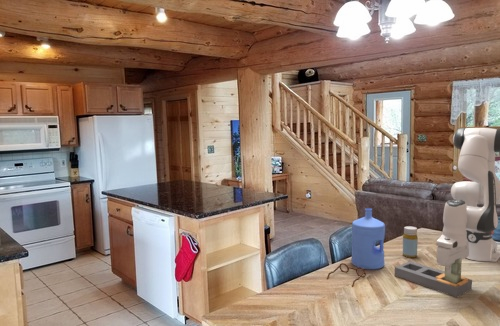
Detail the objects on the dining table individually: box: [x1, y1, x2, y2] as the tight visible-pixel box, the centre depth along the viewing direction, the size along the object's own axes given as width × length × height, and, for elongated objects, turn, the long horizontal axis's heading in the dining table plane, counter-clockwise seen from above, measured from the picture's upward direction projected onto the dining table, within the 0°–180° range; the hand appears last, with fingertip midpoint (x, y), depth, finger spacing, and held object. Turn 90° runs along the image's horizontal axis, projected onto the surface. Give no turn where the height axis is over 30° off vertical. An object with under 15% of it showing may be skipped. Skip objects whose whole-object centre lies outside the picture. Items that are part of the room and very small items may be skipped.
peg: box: [444, 258, 463, 284], centre depth 161 cm, size 4×4×12 cm
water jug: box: [351, 207, 386, 270], centre depth 190 cm, size 16×16×28 cm
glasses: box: [326, 262, 367, 288], centre depth 174 cm, size 13×13×5 cm
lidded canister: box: [402, 225, 419, 258], centre depth 202 cm, size 7×7×15 cm
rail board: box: [394, 260, 473, 298], centre depth 169 cm, size 12×28×4 cm, turn 36°
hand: (452, 271), depth 161 cm, fingers closed on peg, 4 cm apart
